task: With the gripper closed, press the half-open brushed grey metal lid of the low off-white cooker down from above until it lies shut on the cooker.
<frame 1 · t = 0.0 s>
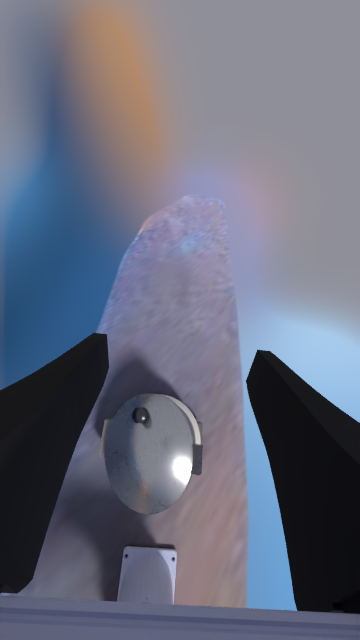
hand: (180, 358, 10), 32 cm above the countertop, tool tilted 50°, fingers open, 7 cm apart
cooker lid: (146, 448, 29), point 10 cm above the countertop, hinge at 30.0°
cooker base: (156, 436, 38), on the countertop
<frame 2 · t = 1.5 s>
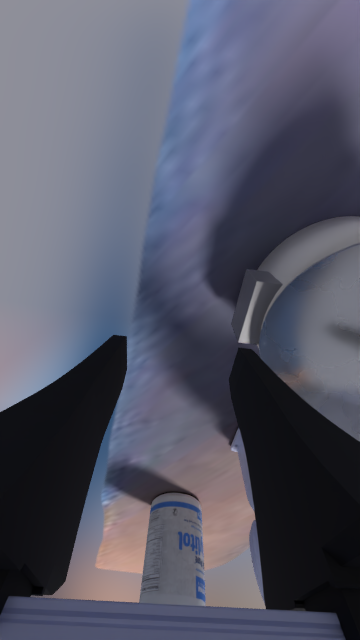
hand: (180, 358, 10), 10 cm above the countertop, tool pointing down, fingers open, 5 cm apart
cooker base: (321, 299, 20), on the countertop
supplement tub: (175, 500, 42), on the countertop
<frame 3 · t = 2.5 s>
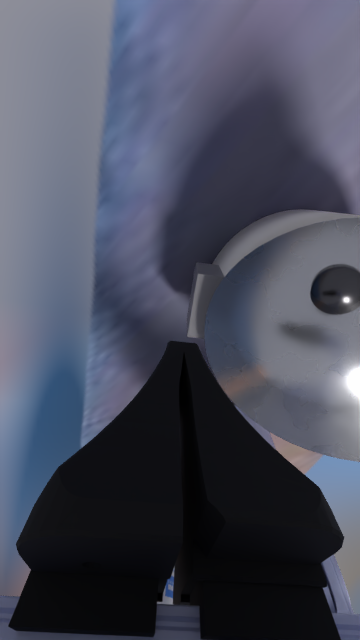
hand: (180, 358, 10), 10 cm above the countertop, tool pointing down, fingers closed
cooker lid: (331, 365, 11), point 10 cm above the countertop, hinge at 30.0°
cooker base: (279, 294, 20), on the countertop
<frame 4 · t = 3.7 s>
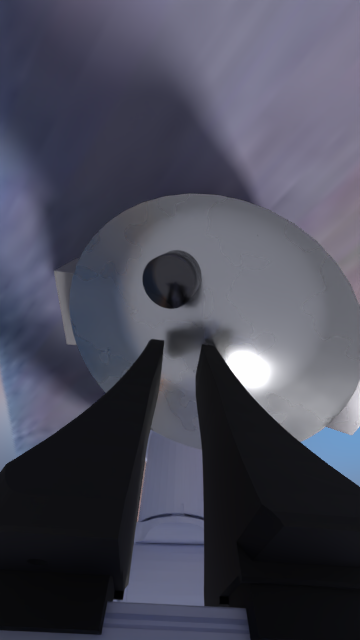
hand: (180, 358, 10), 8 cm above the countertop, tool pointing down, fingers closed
cooker lid: (195, 362, 10), point 8 cm above the countertop, hinge at 17.7°, touching gripper
cooker base: (193, 295, 18), on the countertop
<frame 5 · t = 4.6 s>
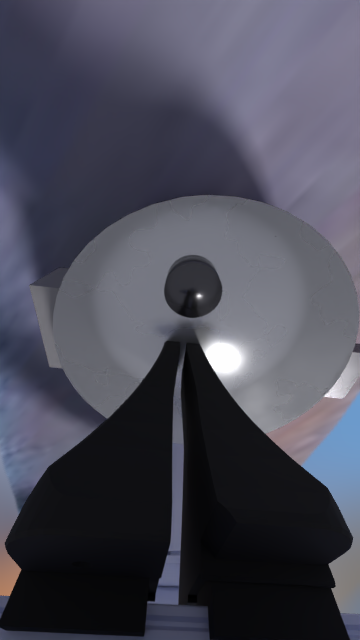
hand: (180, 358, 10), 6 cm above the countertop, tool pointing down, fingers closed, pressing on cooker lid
cooker lid: (210, 365, 10), point 6 cm above the countertop, hinge at 0.5°, touching gripper
cooker base: (195, 306, 16), on the countertop
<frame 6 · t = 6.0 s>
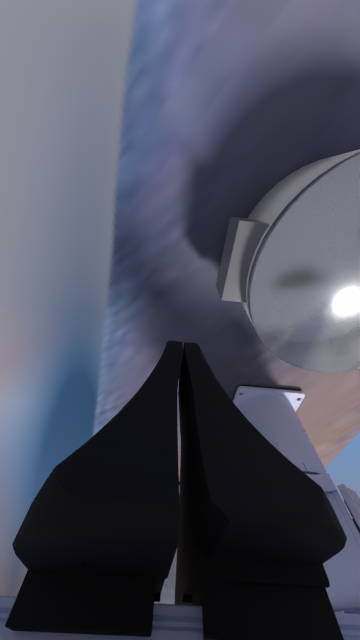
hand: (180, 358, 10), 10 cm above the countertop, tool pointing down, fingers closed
cooker base: (316, 259, 18), on the countertop
supplement tub: (167, 492, 40), on the countertop
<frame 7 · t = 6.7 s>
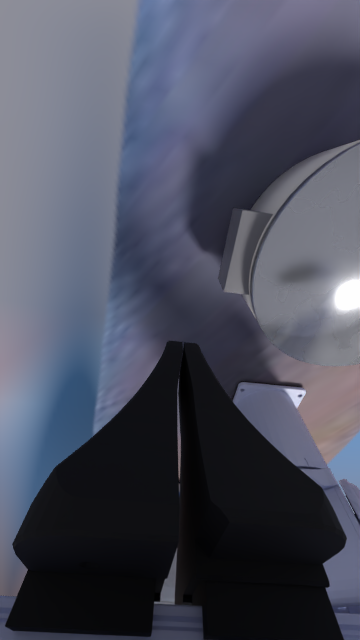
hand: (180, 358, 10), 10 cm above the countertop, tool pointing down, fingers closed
cooker base: (319, 253, 18), on the countertop
supplement tub: (167, 490, 40), on the countertop
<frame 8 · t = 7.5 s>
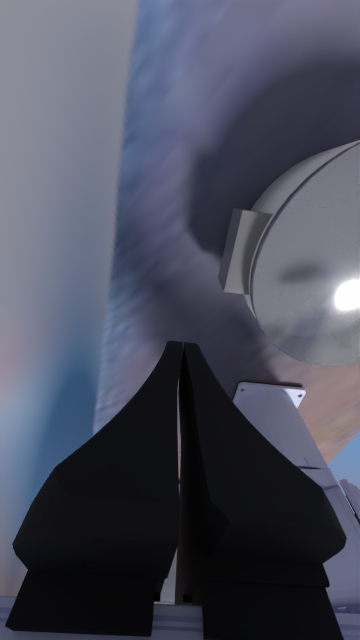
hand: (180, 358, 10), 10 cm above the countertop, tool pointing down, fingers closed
cooker base: (319, 253, 18), on the countertop
supplement tub: (167, 490, 40), on the countertop
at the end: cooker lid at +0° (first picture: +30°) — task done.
